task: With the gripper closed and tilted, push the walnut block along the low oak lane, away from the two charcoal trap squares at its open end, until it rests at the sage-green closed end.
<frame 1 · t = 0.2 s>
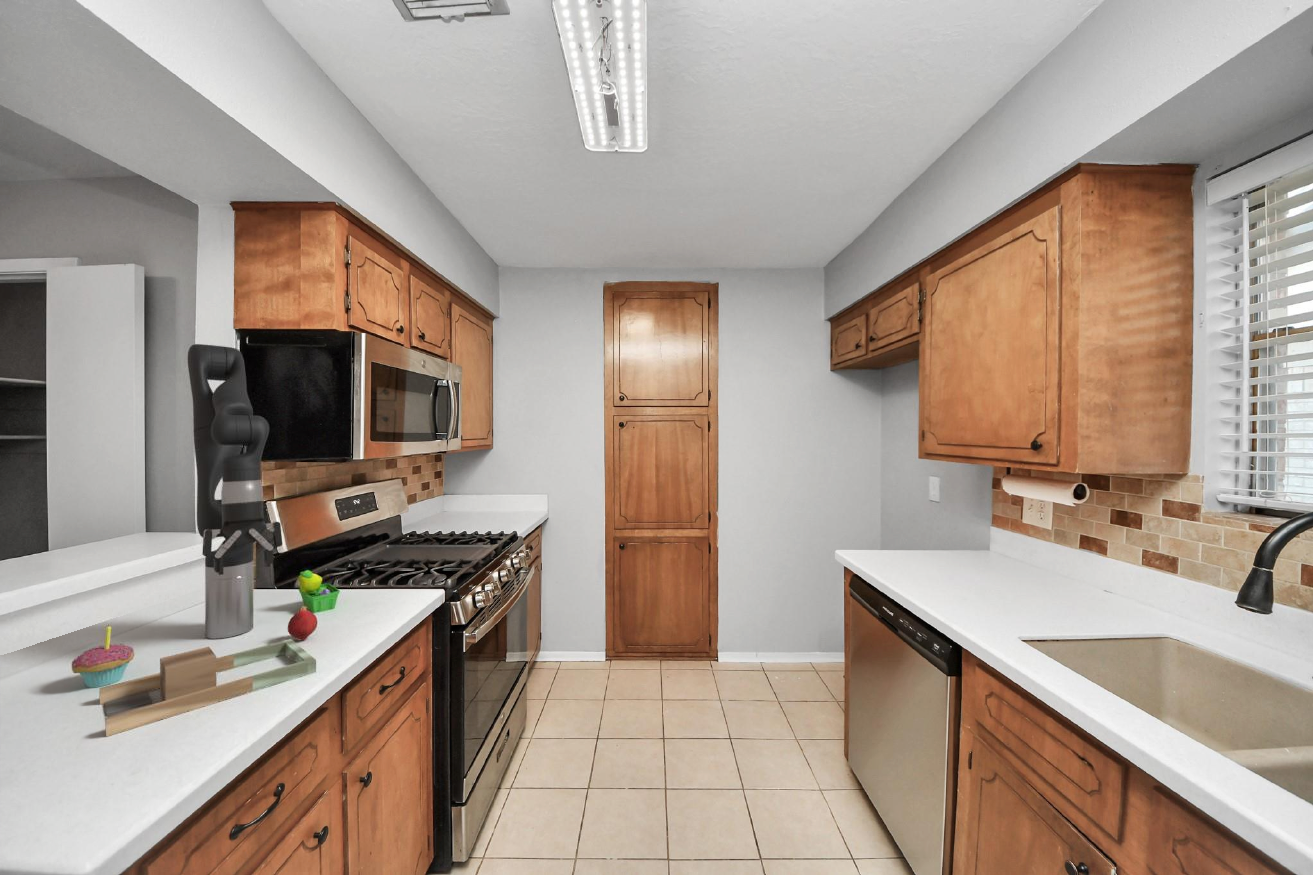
hand: (244, 570, 118), 18 cm above the counter, tool pointing down, fingers open, 8 cm apart
onion: (302, 641, 121), on the counter
walnut block: (188, 694, 96), resting in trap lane
cupcake: (103, 683, 101), on the counter
fruit basket: (316, 608, 144), on the counter
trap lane: (209, 687, 99), on the counter
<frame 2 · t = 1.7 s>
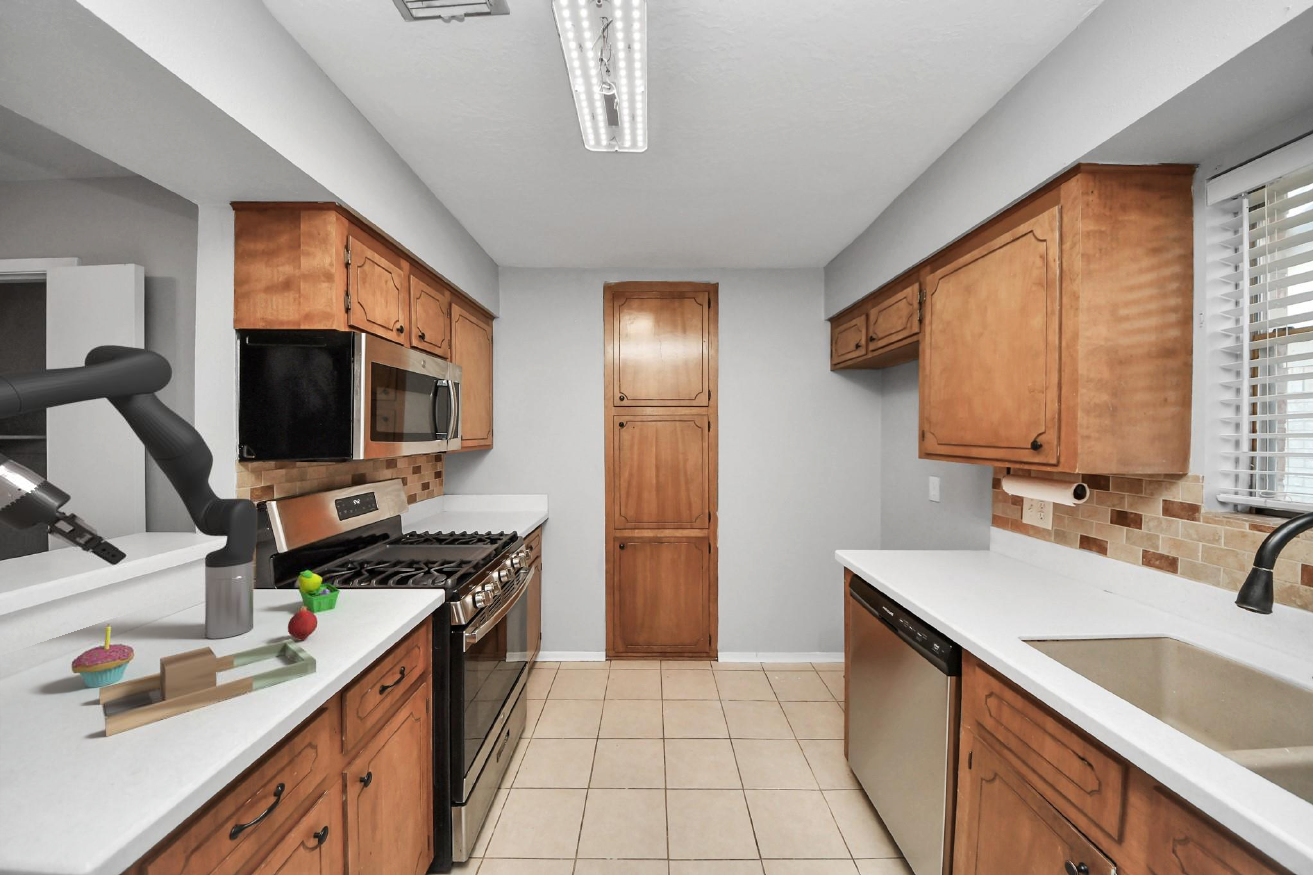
hand: (117, 557, 89), 28 cm above the counter, tool tilted 45°, fingers open, 8 cm apart
nothing on the counter moved.
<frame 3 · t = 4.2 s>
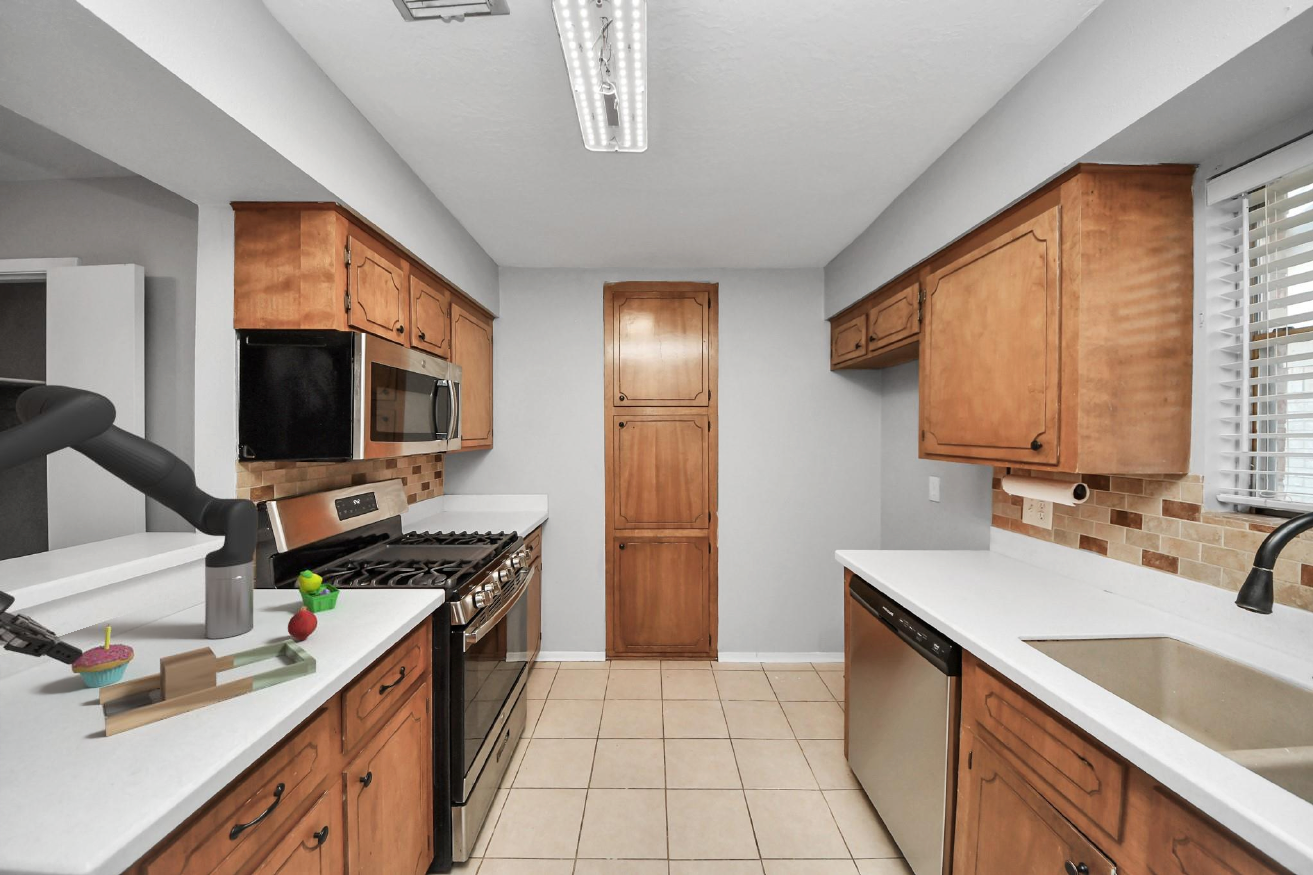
hand: (77, 658, 86), 11 cm above the counter, tool tilted 45°, fingers closed
nothing on the counter moved.
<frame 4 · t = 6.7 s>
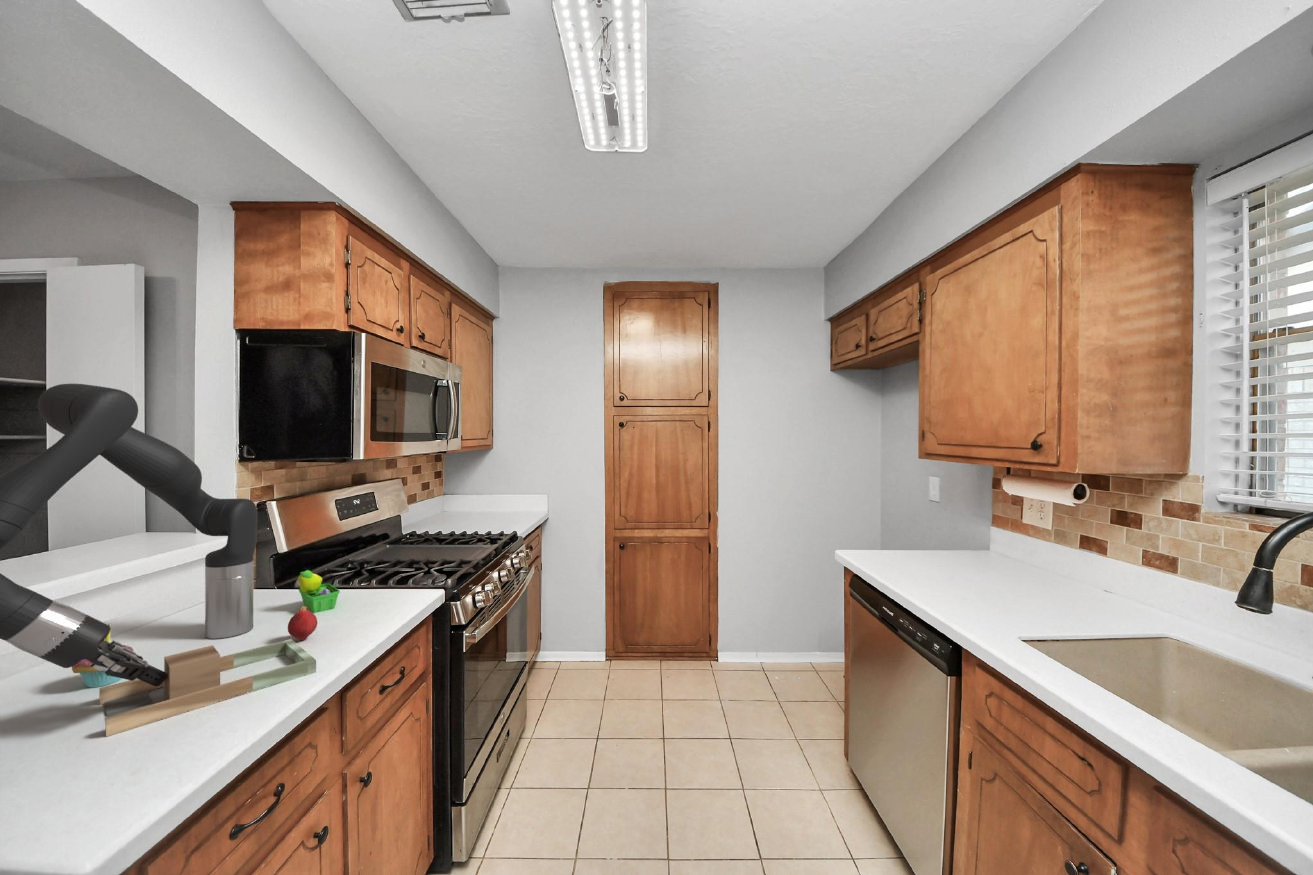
hand: (162, 680, 94), 4 cm above the counter, tool tilted 45°, fingers closed
walnut block: (192, 692, 97), resting in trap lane, touching gripper
everything else where it was.
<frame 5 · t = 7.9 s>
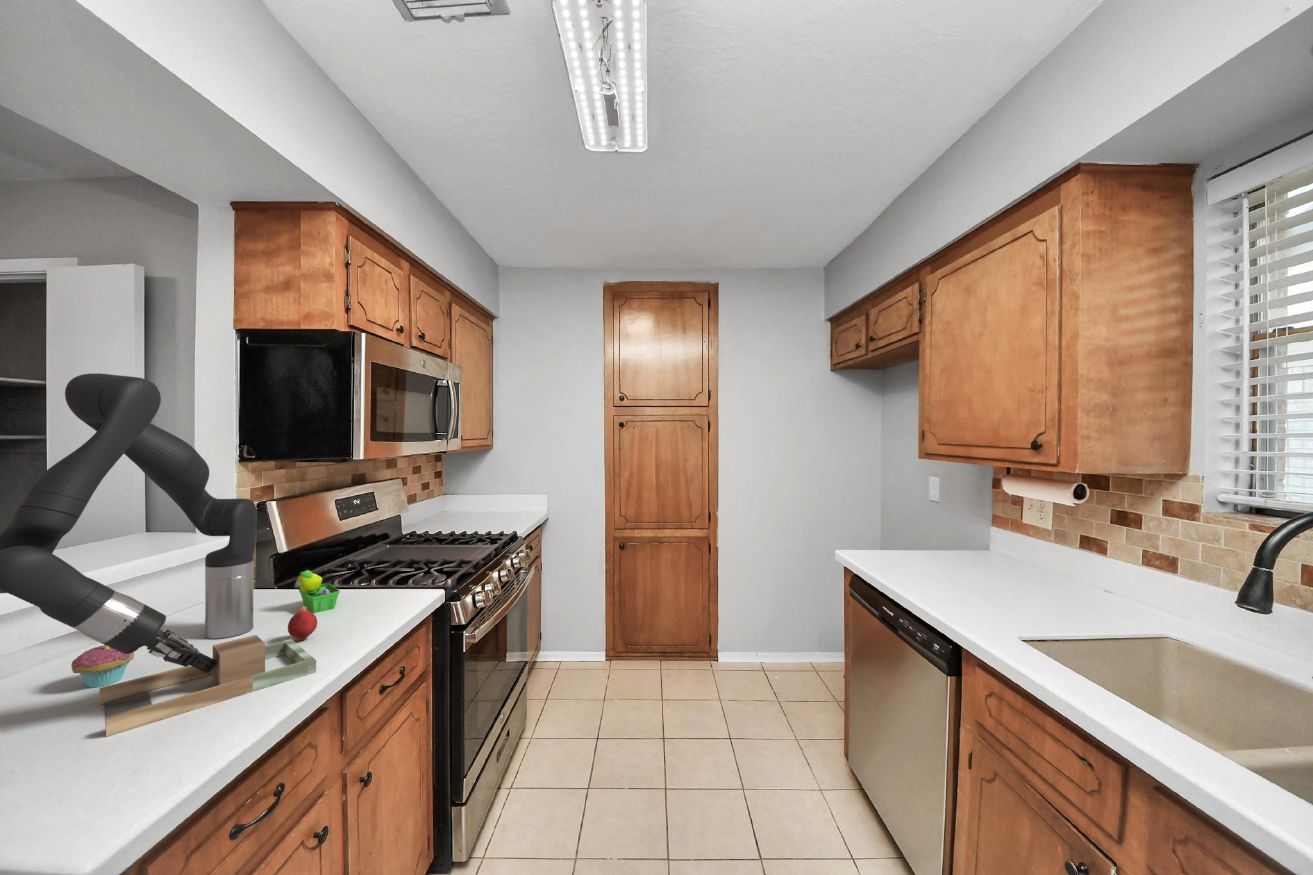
hand: (212, 667, 99), 4 cm above the counter, tool tilted 45°, fingers closed
walnut block: (238, 679, 102), resting in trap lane, touching gripper
everything else where it was.
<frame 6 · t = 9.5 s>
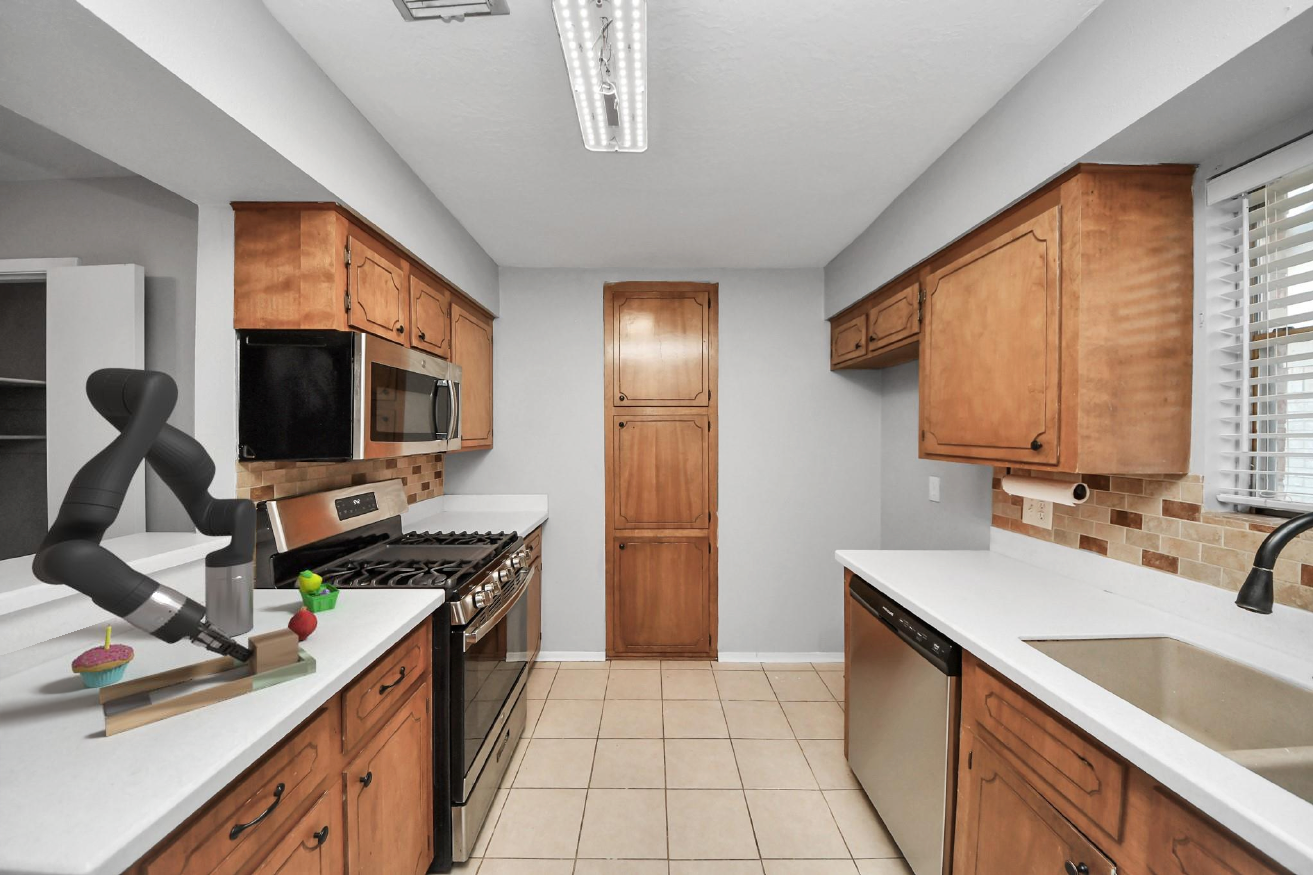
hand: (248, 657, 103), 4 cm above the counter, tool tilted 45°, fingers closed
walnut block: (273, 670, 106), resting in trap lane, touching gripper
everything else where it was.
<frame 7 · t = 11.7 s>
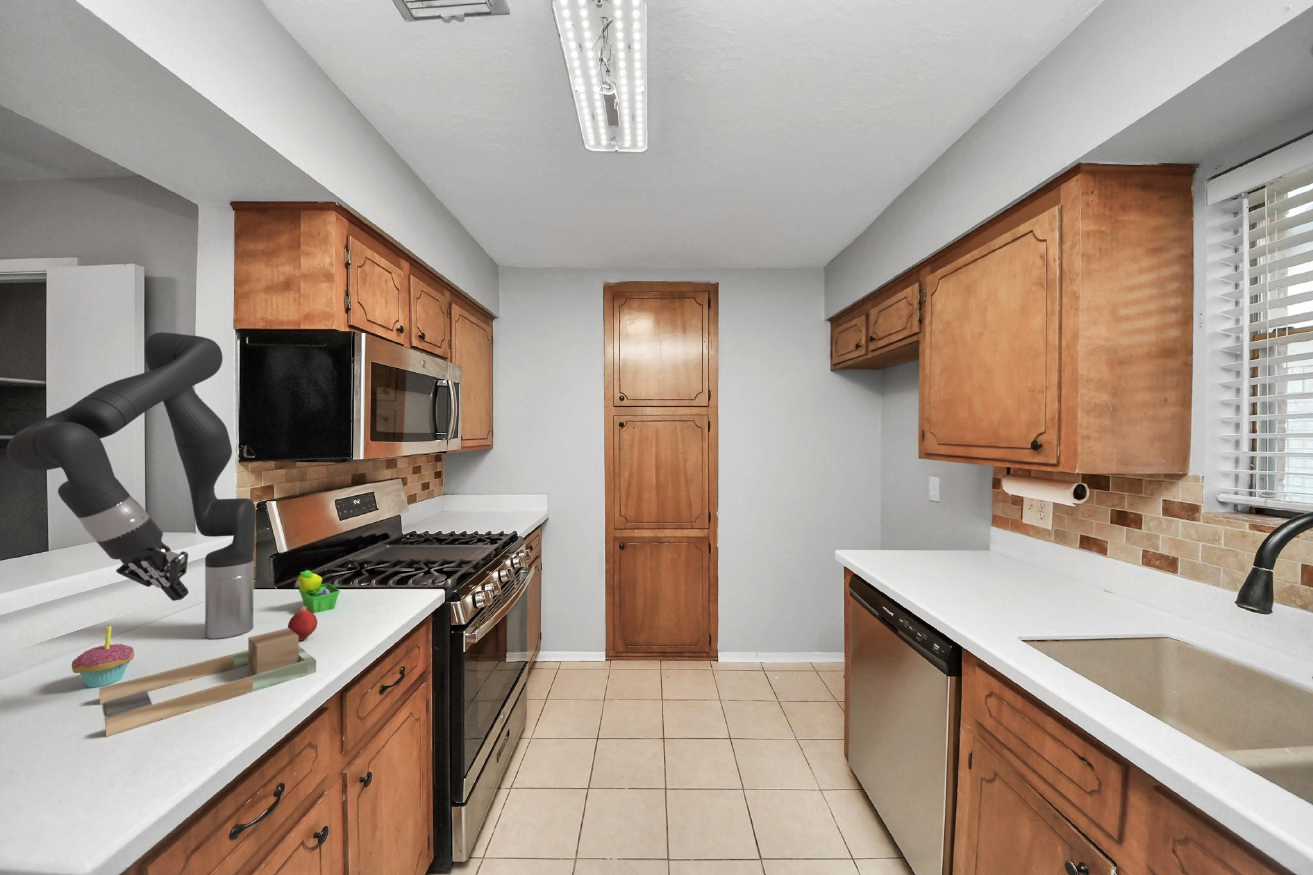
hand: (181, 597, 98), 18 cm above the counter, tool tilted 30°, fingers closed
walnut block: (273, 669, 106), resting in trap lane
everything else where it was.
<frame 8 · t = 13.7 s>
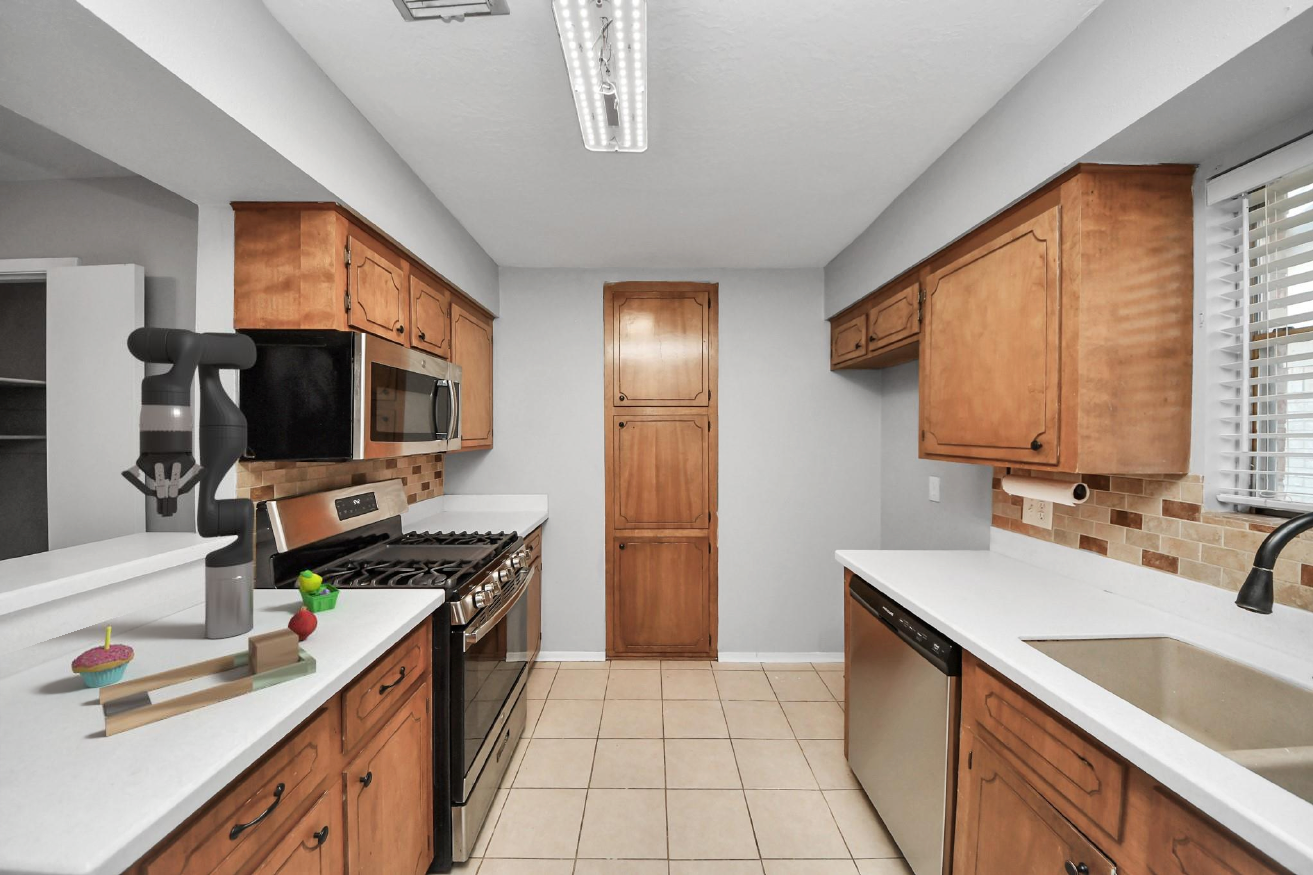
hand: (166, 516, 100), 33 cm above the counter, tool pointing down, fingers closed
nothing on the counter moved.
at the end: walnut block inside the target area (0.4 cm from its centre), resting in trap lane; walnut block moved 13.2 cm from its start; walnut block tilted 0° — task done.
